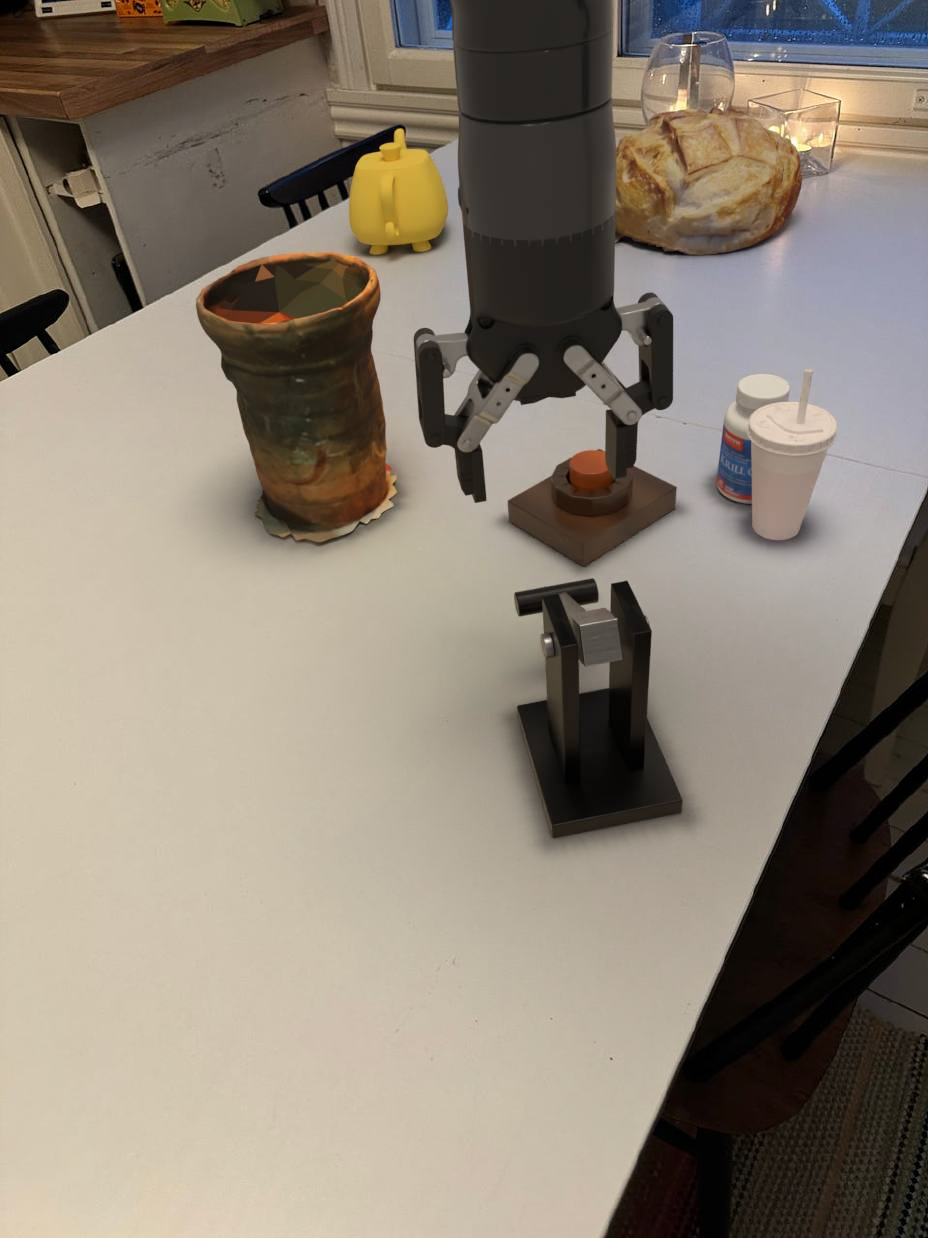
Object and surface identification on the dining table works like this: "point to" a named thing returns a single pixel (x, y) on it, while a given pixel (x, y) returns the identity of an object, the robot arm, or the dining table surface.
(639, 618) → the switch bracket
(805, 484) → the smoothie
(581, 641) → the switch
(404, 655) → the dining table surface
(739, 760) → the dining table surface
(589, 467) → the button
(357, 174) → the teapot
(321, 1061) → the dining table surface
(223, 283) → the vessel
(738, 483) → the pill bottle
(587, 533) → the button block
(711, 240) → the bread
